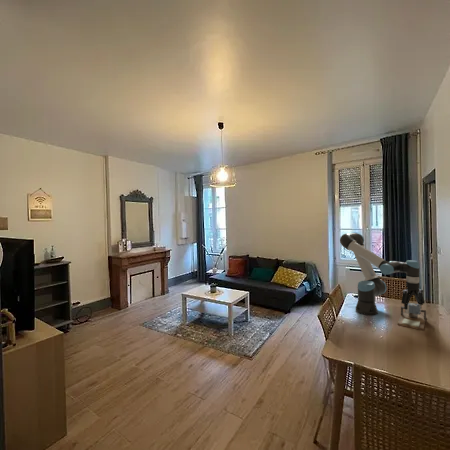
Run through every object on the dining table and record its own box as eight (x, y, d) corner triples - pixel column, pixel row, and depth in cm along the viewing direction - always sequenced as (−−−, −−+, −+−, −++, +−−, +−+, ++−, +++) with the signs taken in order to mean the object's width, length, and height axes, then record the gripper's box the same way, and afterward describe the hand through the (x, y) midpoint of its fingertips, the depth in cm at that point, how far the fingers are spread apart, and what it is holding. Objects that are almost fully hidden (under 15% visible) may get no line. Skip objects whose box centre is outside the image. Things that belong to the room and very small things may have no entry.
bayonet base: (397, 324, 171) (397, 314, 171) (402, 313, 191) (402, 303, 191) (424, 330, 162) (423, 319, 162) (426, 317, 181) (426, 308, 181)
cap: (401, 309, 186) (401, 301, 186) (412, 308, 186) (412, 301, 186) (413, 314, 175) (413, 306, 175) (424, 314, 176) (424, 306, 176)
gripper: (402, 284, 176) (403, 316, 177) (431, 282, 177) (431, 314, 178) (395, 281, 183) (395, 312, 184) (422, 280, 185) (422, 310, 185)
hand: (412, 313), depth 181 cm, fingers closed on cap, 8 cm apart
